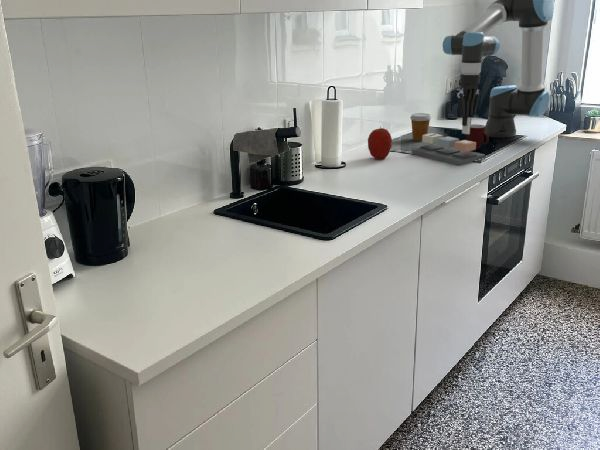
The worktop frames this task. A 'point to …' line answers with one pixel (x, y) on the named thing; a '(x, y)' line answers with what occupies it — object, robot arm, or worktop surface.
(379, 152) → the apple
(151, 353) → the worktop surface
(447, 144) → the key slate
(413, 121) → the disposable coffee cup
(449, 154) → the keypad base
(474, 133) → the mug
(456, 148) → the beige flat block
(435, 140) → the key cream
